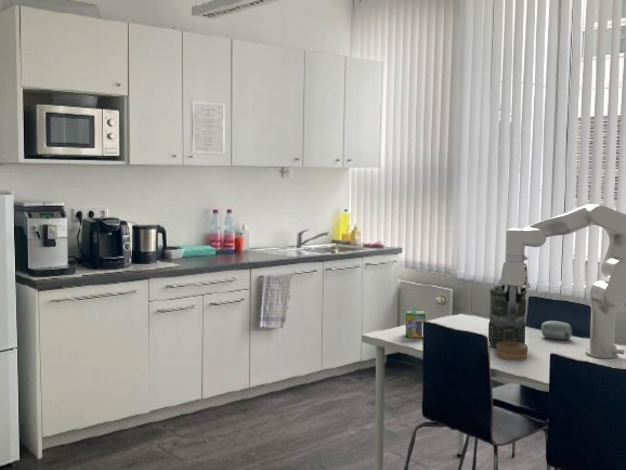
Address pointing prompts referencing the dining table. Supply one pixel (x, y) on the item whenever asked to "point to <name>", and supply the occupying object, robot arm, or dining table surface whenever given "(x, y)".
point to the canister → (505, 319)
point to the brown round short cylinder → (511, 350)
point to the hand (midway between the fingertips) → (513, 301)
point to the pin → (513, 300)
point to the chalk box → (414, 323)
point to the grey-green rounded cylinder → (556, 330)
